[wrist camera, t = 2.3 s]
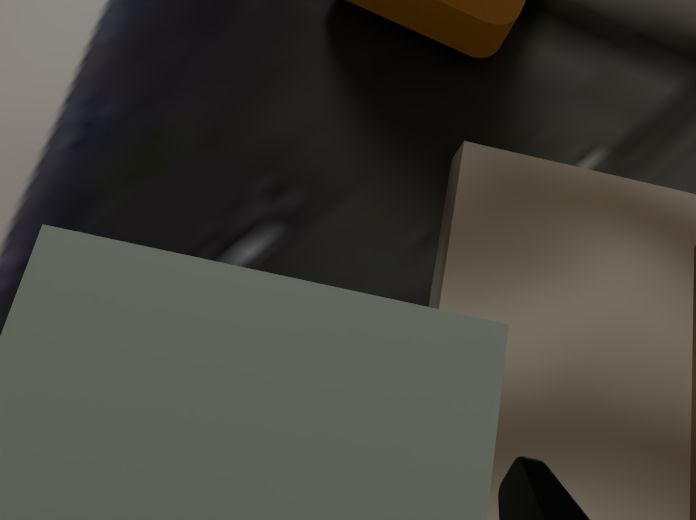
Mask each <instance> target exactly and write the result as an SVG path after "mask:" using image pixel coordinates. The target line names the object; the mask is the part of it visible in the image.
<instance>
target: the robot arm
mask: <svg viewBox="0 0 696 520" xmlns="http://www.w3.org/2000/svg"><path fill="white" fill-rule="evenodd" d="M498 507H499V520H590V519H589V518H588V516H587V515H586V514H585V513H584V511H583V510H582V509H581V508H580V506H579V505H578V504H577V503H576V501H575V500H574V499H573V497H572V496H571V495H570V494H569V492H568V491H567V490H566V489H565V487H564V486H563V485H562V484H561V482H560V481H559V480H558V479H557V477H556V476H555V475H554V474H553V472H552V471H551V470H550V468H549V467H548V466H547V465H546V464H545V463H544V462H543V461H541V460H539V459H535V458H530V457H525V456H519V457H517V458H516V459H515V460H514V462H513V463H512V465H511V467H510V468H509V470H508V472H507V473H506V475H505V477H504V478H503V480H502V482H501V484H500V487H499V491H498Z"/></svg>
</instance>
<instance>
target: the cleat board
mask: <svg viewBox="0 0 696 520" xmlns="http://www.w3.org/2000/svg"><path fill="white" fill-rule="evenodd" d="M429 307H430V308H435V309H440V310H444V311H449V312H453V313H458V314H463V315H467V316H472V317H477V318H481V319H486V320H491V321H495V322H500V323H505V324H509V328H508V337H507V346H506V355H505V364H504V373H503V381H502V390H501V399H500V408H499V417H498V426H497V434H496V443H495V452H494V461H493V470H492V479H491V487H490V496H489V505H488V514H487V520H499V507H498V491H499V487H500V484H501V482H502V480H503V478H504V477H505V475H506V473H507V472H508V470H509V468H510V467H511V465H512V463H513V462H514V460H515V459H516V458H517V457H519V456H525V457H530V458H535V459H539V460H541V461H543V462H544V463H545V464H546V465H547V466H548V467H549V468H550V470H551V471H552V472H553V474H554V475H555V476H556V477H557V479H558V480H559V481H560V482H561V484H562V485H563V486H564V487H565V489H566V490H567V491H568V492H569V494H570V495H571V496H572V497H573V499H574V500H575V501H576V503H577V504H578V505H579V506H580V508H581V509H582V510H583V511H584V513H585V514H586V515H587V516H588V518H589V519H590V520H696V194H692V193H687V192H683V191H679V190H674V189H670V188H666V187H661V186H657V185H653V184H648V183H644V182H640V181H635V180H631V179H627V178H623V177H618V176H614V175H610V174H605V173H601V172H597V171H592V170H588V169H584V168H579V167H575V166H571V165H566V164H562V163H558V162H553V161H549V160H545V159H540V158H536V157H532V156H527V155H523V154H519V153H514V152H510V151H506V150H501V149H497V148H493V147H488V146H484V145H480V144H475V143H471V142H467V141H464V142H463V143H462V145H461V146H460V148H459V149H458V151H457V152H456V154H455V155H454V157H453V158H452V160H451V167H450V173H449V179H448V186H447V192H446V199H445V205H444V211H443V218H442V224H441V231H440V237H439V243H438V250H437V256H436V262H435V269H434V275H433V282H432V288H431V294H430V301H429Z"/></svg>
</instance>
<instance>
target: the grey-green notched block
mask: <svg viewBox="0 0 696 520" xmlns="http://www.w3.org/2000/svg"><path fill="white" fill-rule="evenodd" d="M508 328H509V324H505V323H500V322H495V321H491V320H486V319H481V318H477V317H472V316H467V315H463V314H458V313H453V312H449V311H444V310H440V309H435V308H430V307H426V306H421V305H416V304H412V303H407V302H402V301H398V300H393V299H388V298H384V297H379V296H374V295H370V294H365V293H360V292H356V291H351V290H346V289H342V288H337V287H332V286H328V285H323V284H318V283H314V282H309V281H304V280H300V279H295V278H290V277H286V276H281V275H276V274H272V273H267V272H262V271H258V270H253V269H248V268H244V267H239V266H234V265H230V264H225V263H220V262H216V261H211V260H206V259H202V258H197V257H192V256H188V255H183V254H178V253H174V252H169V251H164V250H160V249H155V248H150V247H146V246H141V245H136V244H132V243H127V242H122V241H118V240H113V239H108V238H104V237H99V236H94V235H90V234H85V233H80V232H76V231H71V230H66V229H62V228H57V227H52V226H48V225H42V227H41V230H40V233H39V235H38V238H37V241H36V243H35V246H34V249H33V251H32V254H31V257H30V259H29V262H28V264H27V267H26V270H25V272H24V275H23V278H22V280H21V283H20V286H19V288H18V291H17V294H16V296H15V299H14V302H13V304H12V307H11V310H10V312H9V315H8V317H7V320H6V323H5V325H4V328H3V331H2V333H1V336H0V520H487V514H488V505H489V496H490V487H491V479H492V470H493V461H494V452H495V443H496V434H497V426H498V417H499V408H500V399H501V390H502V381H503V373H504V364H505V355H506V346H507V337H508Z"/></svg>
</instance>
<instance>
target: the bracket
mask: <svg viewBox="0 0 696 520" xmlns="http://www.w3.org/2000/svg"><path fill="white" fill-rule="evenodd" d="M347 1H349V2H351V3H353V4H356V5H358V6H360V7H362V8H364V9H367V10H369V11H371V12H373V13H376V14H378V15H380V16H382V17H385V18H387V19H389V20H391V21H393V22H396V23H398V24H400V25H402V26H405V27H407V28H409V29H411V30H413V31H416V32H418V33H420V34H422V35H425V36H427V37H429V38H431V39H434V40H436V41H438V42H440V43H442V44H445V45H447V46H449V47H451V48H454V49H456V50H458V51H460V52H462V53H465V54H467V55H469V56H472V57H477V58H483V57H488V56H491V55H493V54H494V53H496V52H497V51H498V49H499V48H500V46H501V45H502V43H503V41H504V40H505V38H506V36H507V34H508V33H509V31H510V29H511V28H512V26H513V24H514V23H515V21H516V19H517V18H518V16H519V14H520V12H521V10H522V8H523V5H524V3H525V1H526V0H347Z"/></svg>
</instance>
